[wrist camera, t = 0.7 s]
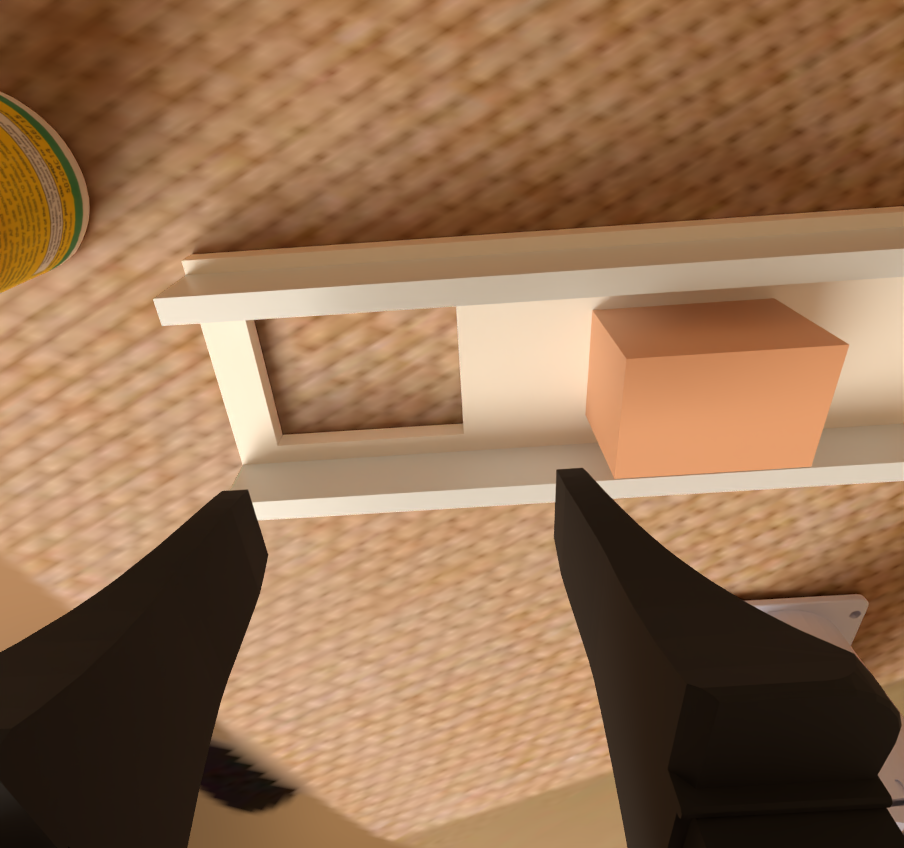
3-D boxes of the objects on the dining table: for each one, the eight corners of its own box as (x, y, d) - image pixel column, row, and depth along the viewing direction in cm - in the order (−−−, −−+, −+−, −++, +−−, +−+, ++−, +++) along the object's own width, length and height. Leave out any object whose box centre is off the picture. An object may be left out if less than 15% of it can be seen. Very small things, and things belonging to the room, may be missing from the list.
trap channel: (878, 440, 23) (939, 488, 20) (256, 479, 23) (231, 531, 20) (967, 201, 18) (1063, 221, 15) (191, 254, 18) (147, 283, 16)
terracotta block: (749, 404, 21) (811, 466, 17) (585, 415, 21) (614, 478, 17) (774, 298, 19) (849, 344, 15) (592, 310, 19) (626, 359, 15)
